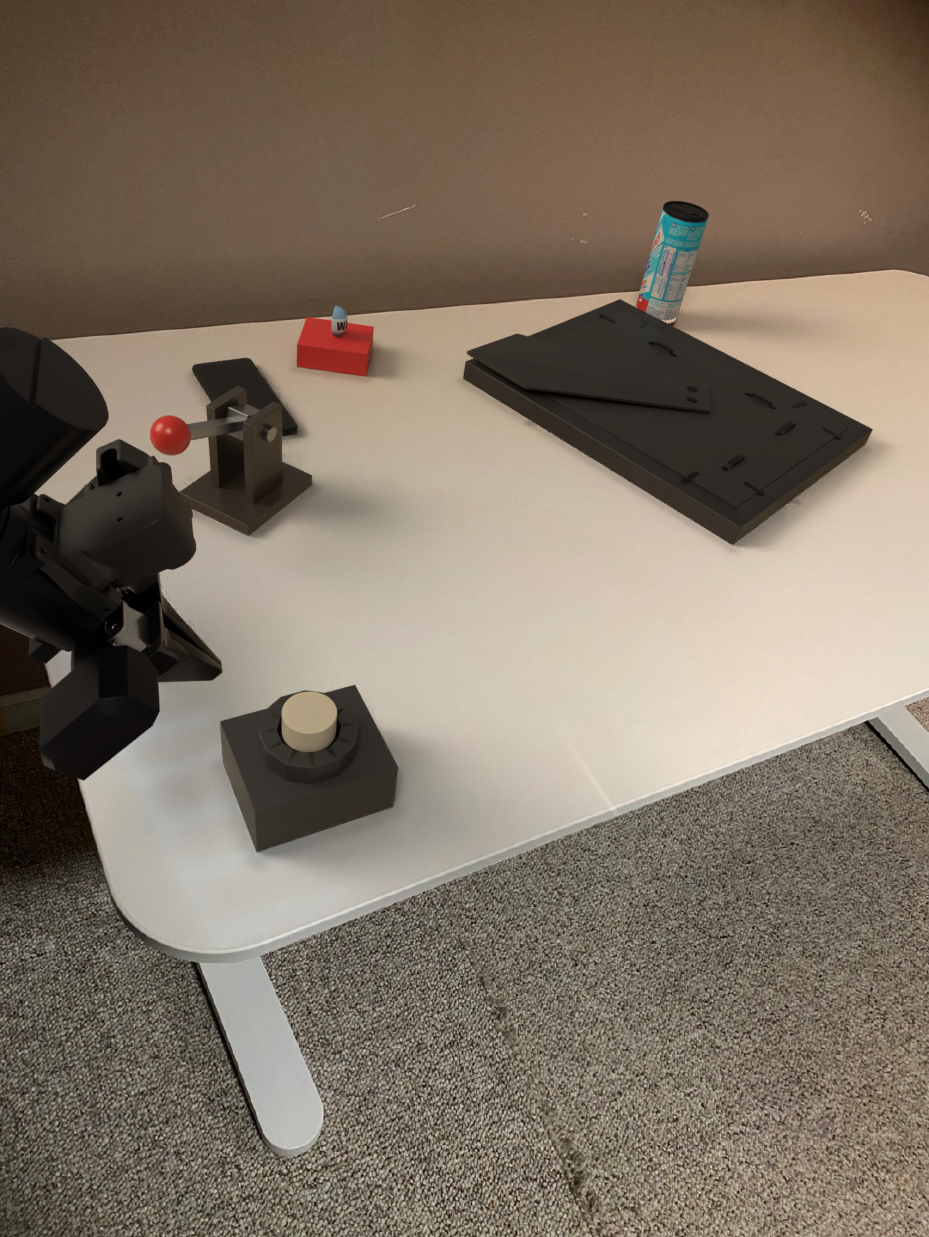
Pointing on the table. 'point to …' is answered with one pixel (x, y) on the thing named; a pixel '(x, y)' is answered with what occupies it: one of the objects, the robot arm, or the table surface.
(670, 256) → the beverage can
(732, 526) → the picture frame
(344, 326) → the red low topped box
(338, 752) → the block
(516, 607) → the table surface
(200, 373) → the smartphone
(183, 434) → the power switch
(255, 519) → the switch bracket
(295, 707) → the stop button
